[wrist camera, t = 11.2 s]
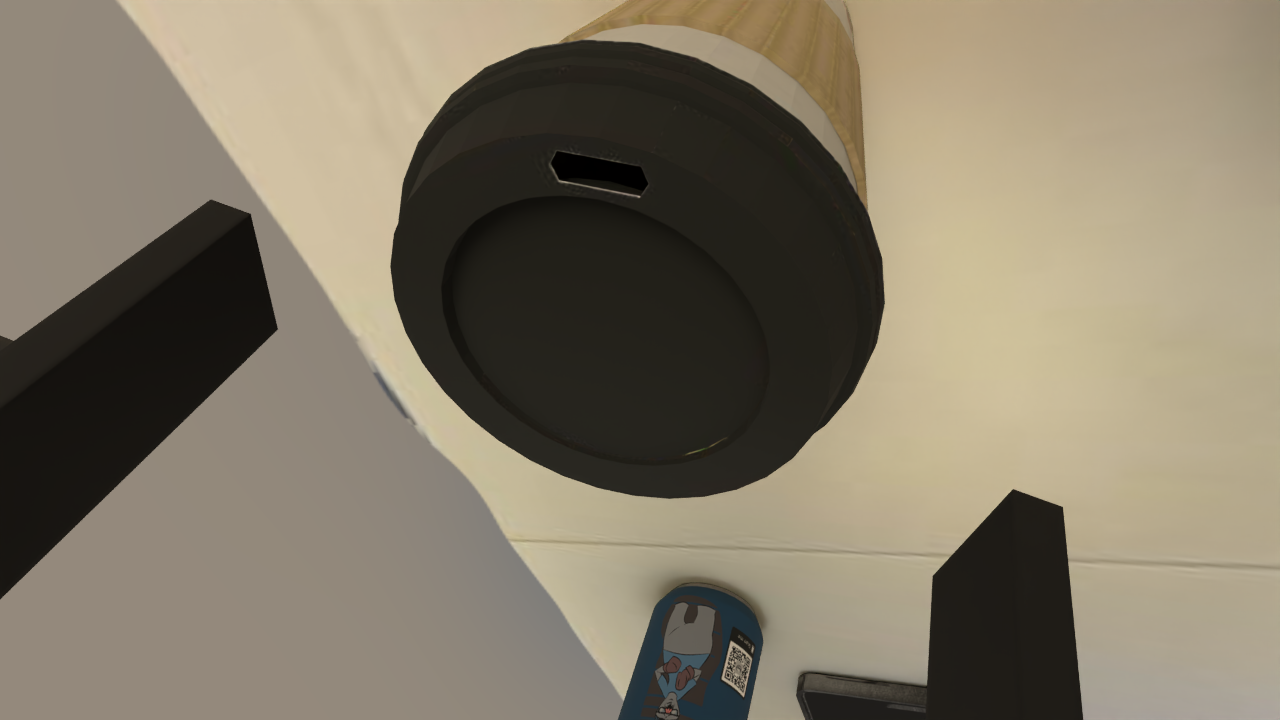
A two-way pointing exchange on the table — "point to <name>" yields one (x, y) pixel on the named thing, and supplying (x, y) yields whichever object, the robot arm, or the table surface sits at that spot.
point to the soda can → (696, 658)
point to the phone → (858, 699)
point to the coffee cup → (650, 244)
